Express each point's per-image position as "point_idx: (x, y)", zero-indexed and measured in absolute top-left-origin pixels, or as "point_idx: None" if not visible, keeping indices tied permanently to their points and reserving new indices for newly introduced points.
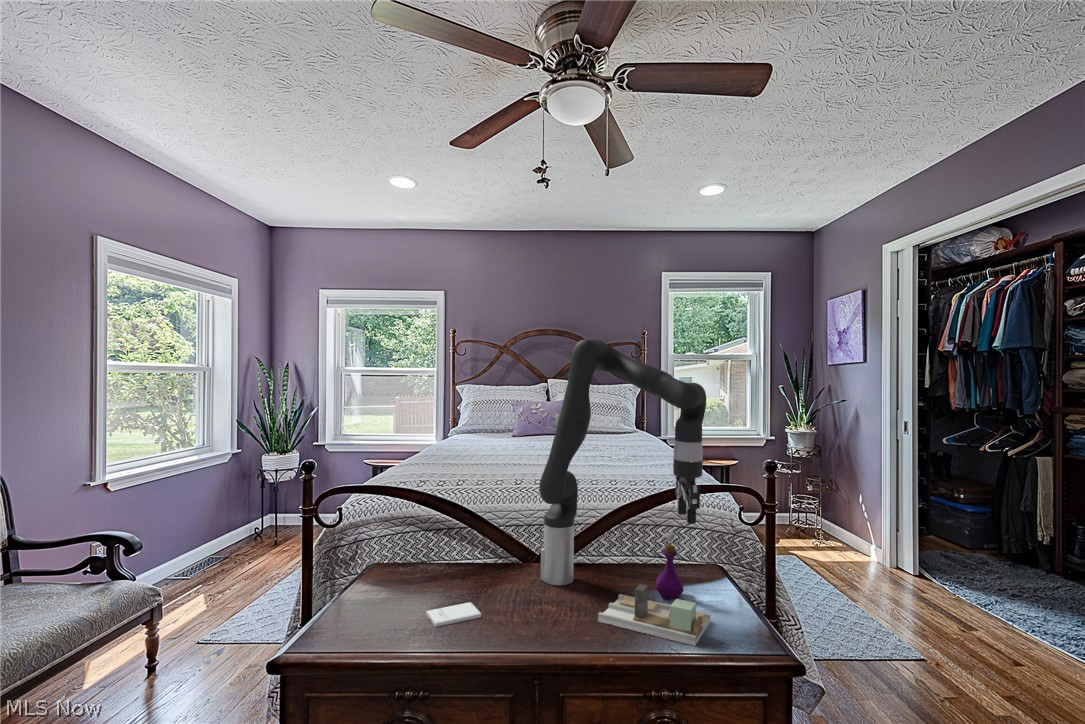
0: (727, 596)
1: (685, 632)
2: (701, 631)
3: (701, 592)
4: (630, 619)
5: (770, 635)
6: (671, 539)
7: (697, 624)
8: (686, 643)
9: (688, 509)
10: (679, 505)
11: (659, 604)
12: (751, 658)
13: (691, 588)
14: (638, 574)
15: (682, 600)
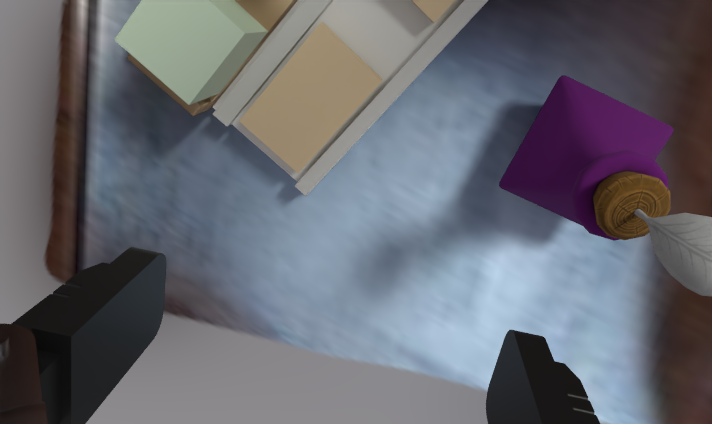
0: (496, 357)
1: None
2: None
3: (560, 289)
4: None
5: (192, 317)
6: (658, 238)
7: (134, 63)
8: None
9: (35, 338)
10: (530, 406)
11: (435, 31)
12: (58, 179)
13: (611, 272)
14: None
15: (221, 54)
